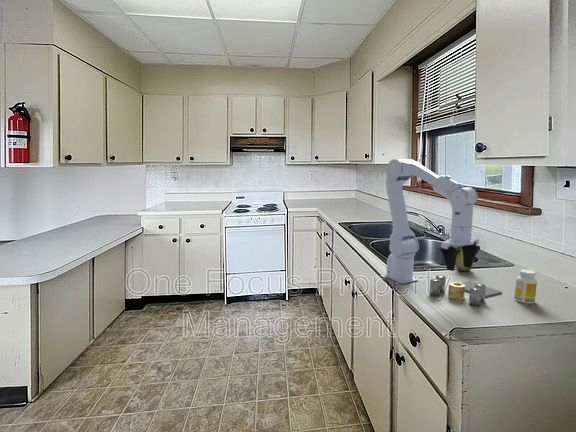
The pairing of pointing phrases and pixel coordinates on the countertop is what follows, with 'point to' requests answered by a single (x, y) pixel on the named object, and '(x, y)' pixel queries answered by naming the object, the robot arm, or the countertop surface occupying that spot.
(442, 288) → the cylinder
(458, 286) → the nut
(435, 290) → the cylinder
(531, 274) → the supplement bottle
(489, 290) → the mat
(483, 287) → the cylinder
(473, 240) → the robot arm
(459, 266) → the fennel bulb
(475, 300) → the cylinder
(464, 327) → the countertop surface
